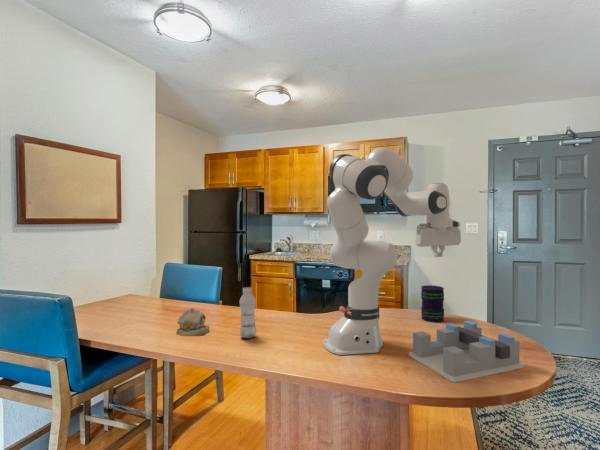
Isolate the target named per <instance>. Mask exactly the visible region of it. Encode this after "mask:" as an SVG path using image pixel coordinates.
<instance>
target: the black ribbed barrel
mask: <svg viewBox="0 0 600 450" xmlns="http://www.w3.org/2000/svg"><path fill="white" fill-rule="evenodd" d="M420 290H421V292H420V297H421V307H420V308H421V320H422V321H424V322H428V323H433V324H434V323H443V322H445V319H444V317H445V308H444V301H445V293H444V292H445V291H444V290H445V287H443V286H439V285H429V284H426V285H422V286H421V289H420Z"/></svg>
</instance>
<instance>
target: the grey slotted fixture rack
mask: <svg viewBox="0 0 600 450" xmlns="http://www.w3.org/2000/svg"><path fill="white" fill-rule="evenodd" d="M463 328H465V329H467V330H470V331H473V332H475V333H478V334H480V335H482V334H483V333H482V327H481V326H479V325H478V323H475V322H473V321H470V320H463ZM497 336H498V338H497V339H498V340H497V341H499V342H501V343H504V344H506V345H509V346H510V358H506V359H499V358H497V357H495V340H496V339H493V338H491V339H490V337H488V338H487V336H486V337H485V335H483V336H482V337H479V342H475V343H469V345H467V344H465V343H463V342H461V341H459V325H456V324H453V323H452V322H450V323H445V328H436V340H434V341H432V339H431V338H432V337H431V334H429V333H427V332H424V331H422V330H421V331H416V332H412V350H413V351H410V352H408V356H409V357H411V358H412V359H414V360H416V361H417V362H419V363H421V364H422V365H423V366H425V367H426V368H429V369H430V370H432V371H433V372H435V373H437V374H438V375H440V376H442V377H443V378H445V379H447V380H448V381H450V382H451V383H454V384H455V383H459V382H463V381H467V380H473V379H477V378H481V377H486V376H492V375H497V374H500V373H506V372H511V371H515V370H519V369H523V368H525V367H526V363H523V362H520V341H519V340H516V339H515V336H512V335H508V334H507V333H504V332H502V333H501V332H500V333H498V335H497ZM492 339H493V340H492Z"/></svg>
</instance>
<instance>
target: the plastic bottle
mask: <svg viewBox="0 0 600 450" xmlns="http://www.w3.org/2000/svg"><path fill="white" fill-rule="evenodd" d="M239 308H240V316H241V317H240V327H239V333H240V337H241V338H243V339H251V338H255V336H256V334H257V328H256V320H255V309H256V298H255V297H254V295H253V288H252V287H251V286H245V287H244V286H243V287H242V295H241V297H240V298H239Z"/></svg>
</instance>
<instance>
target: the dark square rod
mask: <svg viewBox="0 0 600 450" xmlns="http://www.w3.org/2000/svg"><path fill="white" fill-rule="evenodd" d="M458 326H459V325H458ZM482 336H485V335H480V334H478V333H475V332H473V331H470V330H467V329H465V328H464V327H462V326H459V341H461V342H463V343H465V344H467V345H469V343H475V342H479V337H482ZM485 337H487V336H485ZM487 338H490V337H487ZM490 339H492V340H495V357H497V358H499V359H506V358H510V346H509V345H506V344H504V343H501V342H499V341H498V340H496V339H493V338H490Z"/></svg>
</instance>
